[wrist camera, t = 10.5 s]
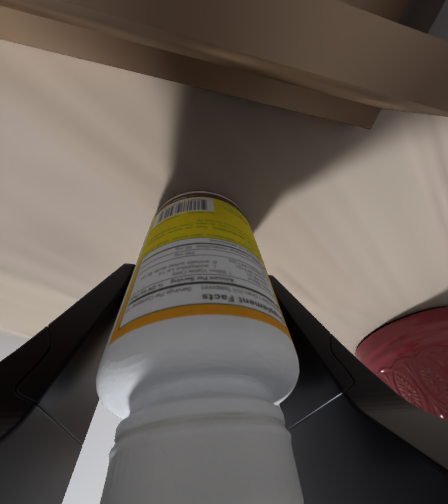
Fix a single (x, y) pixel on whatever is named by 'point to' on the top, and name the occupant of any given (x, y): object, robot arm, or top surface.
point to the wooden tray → (260, 48)
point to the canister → (412, 359)
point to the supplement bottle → (199, 367)
